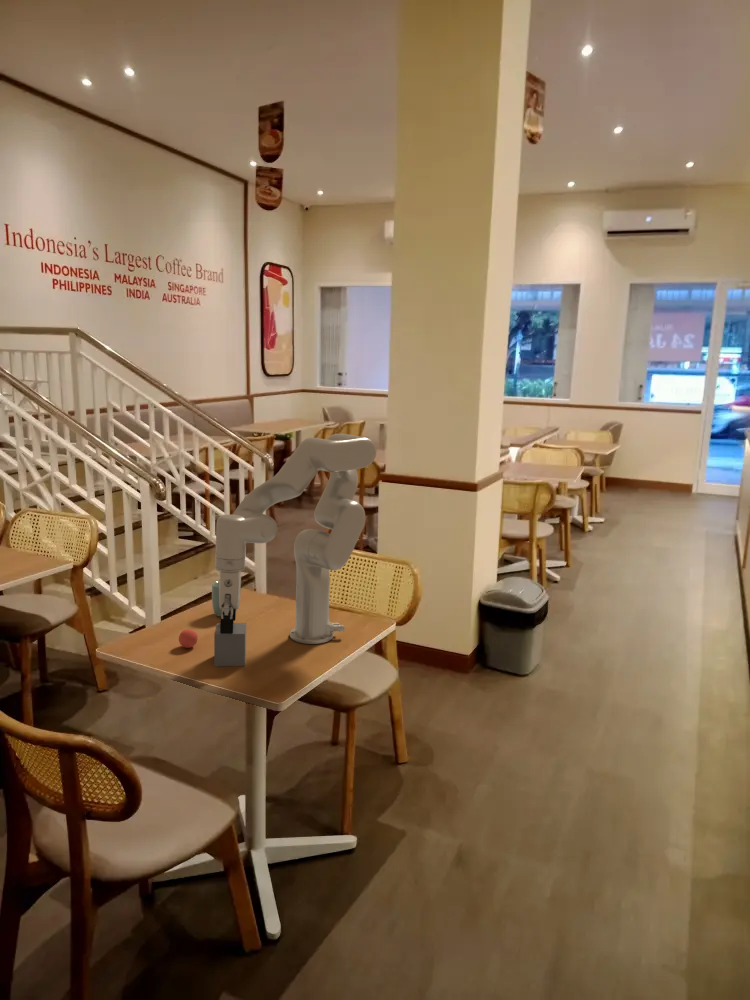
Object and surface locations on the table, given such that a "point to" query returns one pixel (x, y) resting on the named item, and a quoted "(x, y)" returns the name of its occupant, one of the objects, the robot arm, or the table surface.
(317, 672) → the table surface
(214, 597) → the cup
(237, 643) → the matte gray cube
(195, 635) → the ball
